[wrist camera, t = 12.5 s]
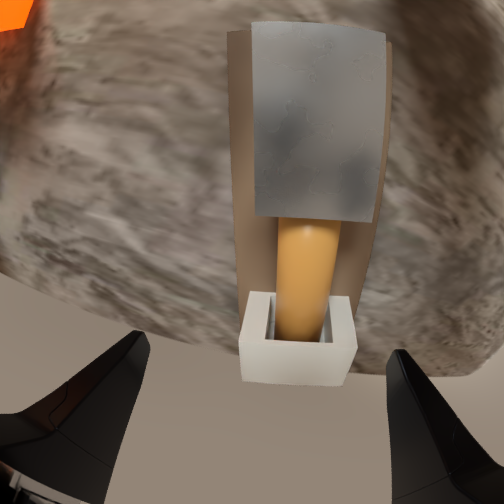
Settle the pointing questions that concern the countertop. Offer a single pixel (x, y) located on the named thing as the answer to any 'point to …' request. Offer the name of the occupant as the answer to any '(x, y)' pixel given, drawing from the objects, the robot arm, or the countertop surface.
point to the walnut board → (266, 227)
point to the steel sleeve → (317, 119)
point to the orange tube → (304, 276)
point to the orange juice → (14, 13)
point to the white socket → (296, 346)
